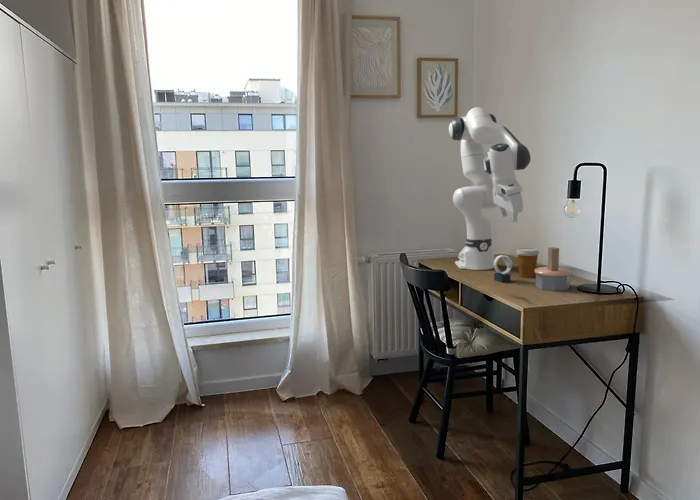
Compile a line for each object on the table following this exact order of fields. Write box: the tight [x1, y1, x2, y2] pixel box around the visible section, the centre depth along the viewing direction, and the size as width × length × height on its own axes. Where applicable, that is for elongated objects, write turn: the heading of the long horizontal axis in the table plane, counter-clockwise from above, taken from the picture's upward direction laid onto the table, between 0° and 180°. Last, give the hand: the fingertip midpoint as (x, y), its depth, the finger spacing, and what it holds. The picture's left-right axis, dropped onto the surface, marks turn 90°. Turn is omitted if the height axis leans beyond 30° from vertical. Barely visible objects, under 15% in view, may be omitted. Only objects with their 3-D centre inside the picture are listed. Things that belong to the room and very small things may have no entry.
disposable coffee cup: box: [516, 247, 540, 279], centre depth 249 cm, size 10×10×12 cm
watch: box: [493, 254, 513, 284], centre depth 241 cm, size 6×8×11 cm
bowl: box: [535, 273, 571, 292], centre depth 228 cm, size 12×12×6 cm
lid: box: [535, 246, 573, 276], centre depth 226 cm, size 14×14×10 cm
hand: (509, 218), depth 227 cm, fingers open, 8 cm apart
